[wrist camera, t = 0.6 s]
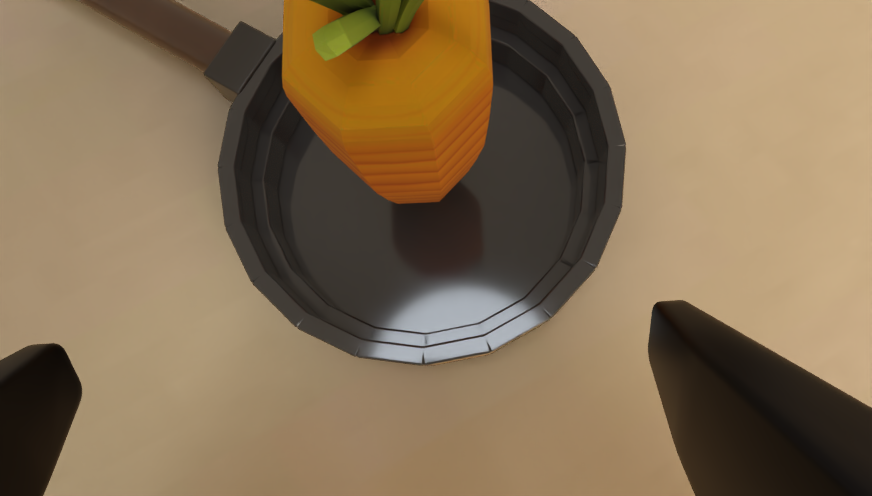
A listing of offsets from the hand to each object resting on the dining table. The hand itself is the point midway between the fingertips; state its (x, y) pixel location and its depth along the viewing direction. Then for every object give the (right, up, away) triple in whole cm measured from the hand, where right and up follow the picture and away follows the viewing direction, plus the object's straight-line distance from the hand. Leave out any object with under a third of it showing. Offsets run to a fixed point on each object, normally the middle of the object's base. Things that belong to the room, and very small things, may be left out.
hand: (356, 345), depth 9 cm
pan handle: (-10, +10, +15) cm, 21 cm away
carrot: (+1, +4, +14) cm, 15 cm away
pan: (+1, +4, +14) cm, 15 cm away
